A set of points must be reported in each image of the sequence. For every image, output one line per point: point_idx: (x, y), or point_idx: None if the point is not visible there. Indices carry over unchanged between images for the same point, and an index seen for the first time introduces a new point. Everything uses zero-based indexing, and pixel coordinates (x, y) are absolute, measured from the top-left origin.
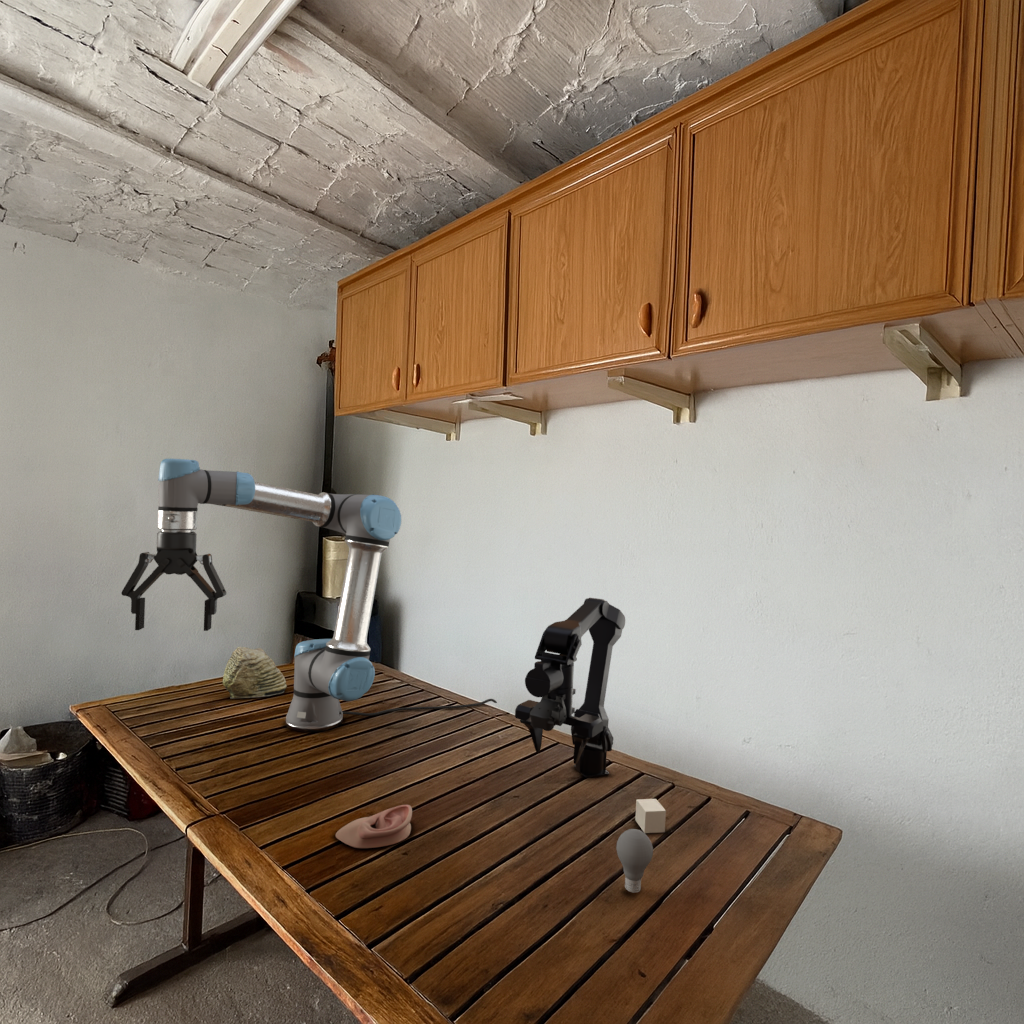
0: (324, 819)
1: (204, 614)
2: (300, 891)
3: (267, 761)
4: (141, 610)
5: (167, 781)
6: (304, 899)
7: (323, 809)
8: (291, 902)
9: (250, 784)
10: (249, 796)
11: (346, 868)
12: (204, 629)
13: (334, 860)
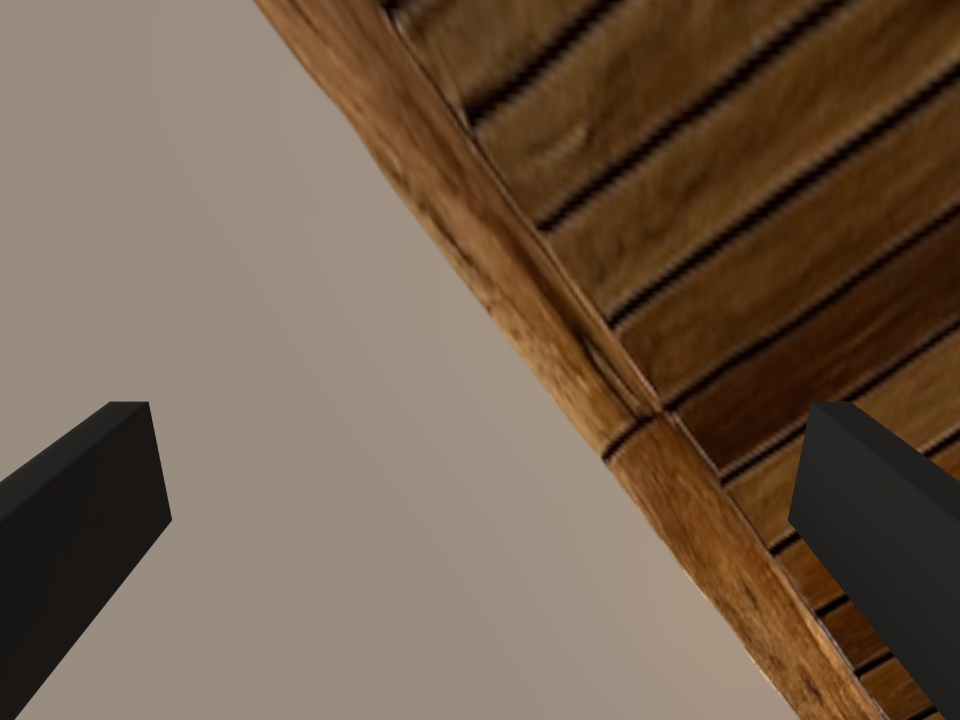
0: None
1: (895, 652)
2: (844, 674)
3: (762, 64)
4: (31, 627)
5: (472, 212)
6: (850, 691)
7: (916, 409)
8: (829, 695)
9: (721, 250)
10: (726, 326)
11: None
12: (801, 527)
13: None
